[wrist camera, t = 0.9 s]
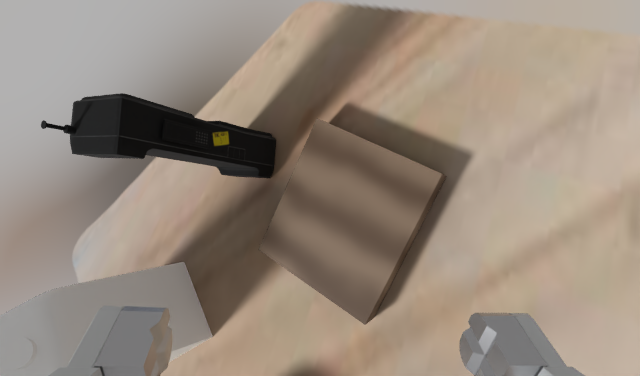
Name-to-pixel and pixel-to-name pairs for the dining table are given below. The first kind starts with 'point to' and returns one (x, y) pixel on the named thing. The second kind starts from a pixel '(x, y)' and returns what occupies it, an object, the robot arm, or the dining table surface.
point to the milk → (81, 307)
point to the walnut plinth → (349, 217)
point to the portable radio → (165, 136)
